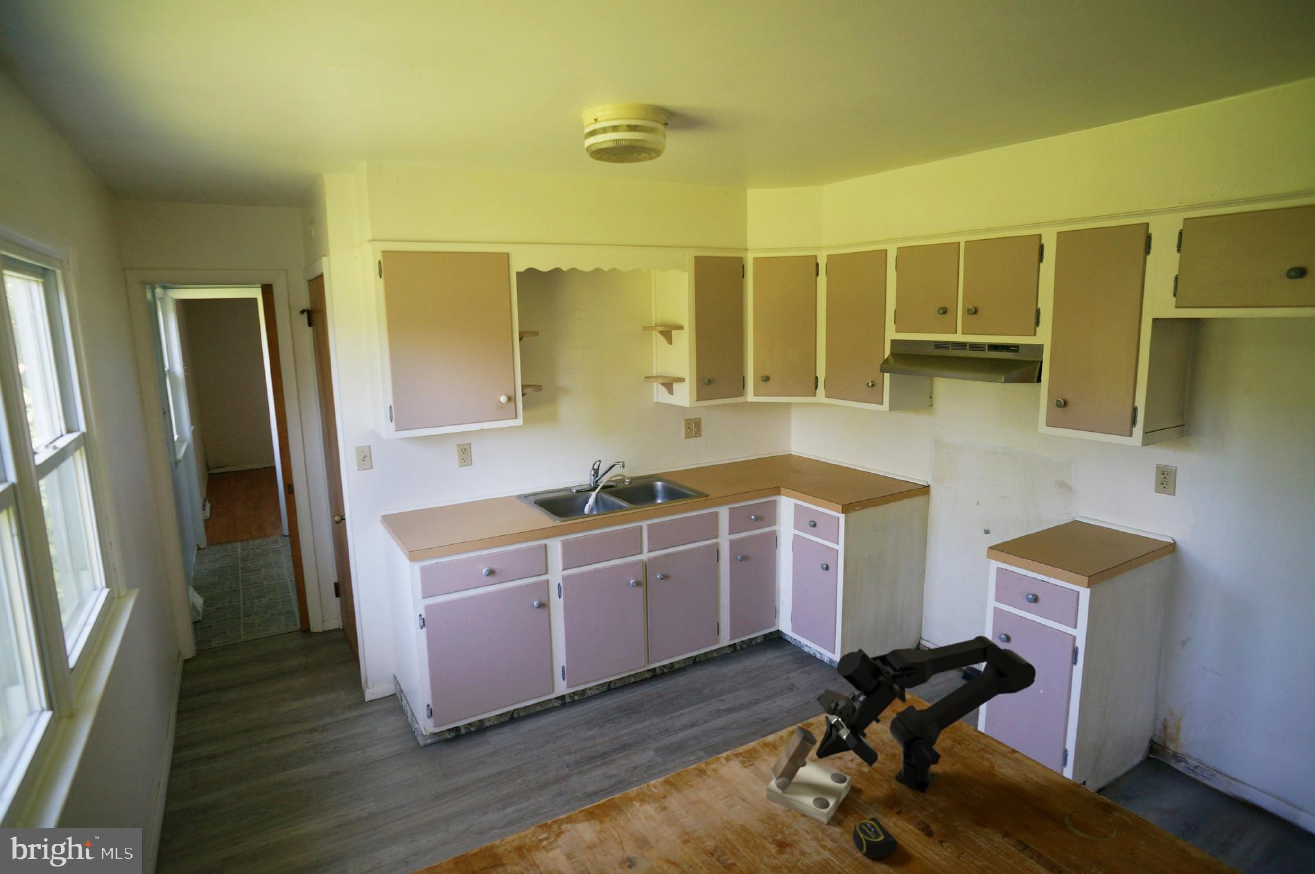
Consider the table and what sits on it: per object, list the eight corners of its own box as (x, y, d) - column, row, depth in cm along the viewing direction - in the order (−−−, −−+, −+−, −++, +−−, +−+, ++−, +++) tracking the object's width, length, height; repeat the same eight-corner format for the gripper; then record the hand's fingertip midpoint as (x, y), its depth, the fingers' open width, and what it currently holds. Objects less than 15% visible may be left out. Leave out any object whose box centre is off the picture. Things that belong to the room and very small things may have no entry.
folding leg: (780, 780, 145) (811, 731, 144) (786, 791, 142) (817, 741, 141) (767, 775, 144) (797, 725, 143) (772, 786, 141) (803, 735, 140)
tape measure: (898, 856, 128) (899, 838, 127) (866, 866, 126) (867, 848, 125) (876, 830, 134) (877, 813, 134) (845, 839, 132) (846, 821, 132)
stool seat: (793, 764, 154) (794, 753, 153) (850, 787, 146) (851, 776, 146) (766, 798, 143) (766, 786, 143) (826, 824, 136) (826, 812, 135)
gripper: (827, 657, 150) (776, 708, 151) (865, 705, 132) (808, 763, 132) (860, 686, 153) (810, 737, 153) (902, 738, 135) (846, 795, 135)
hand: (817, 756), depth 143 cm, fingers closed
